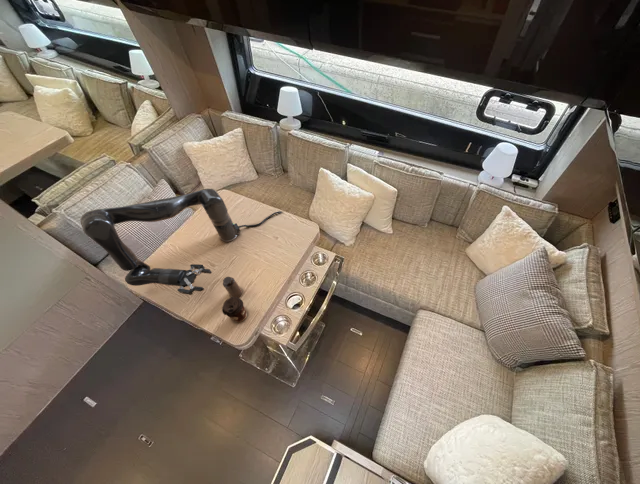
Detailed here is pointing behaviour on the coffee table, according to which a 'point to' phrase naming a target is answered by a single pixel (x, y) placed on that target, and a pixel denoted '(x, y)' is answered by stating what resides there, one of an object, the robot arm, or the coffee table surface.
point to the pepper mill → (232, 287)
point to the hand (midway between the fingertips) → (207, 280)
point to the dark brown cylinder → (234, 309)
